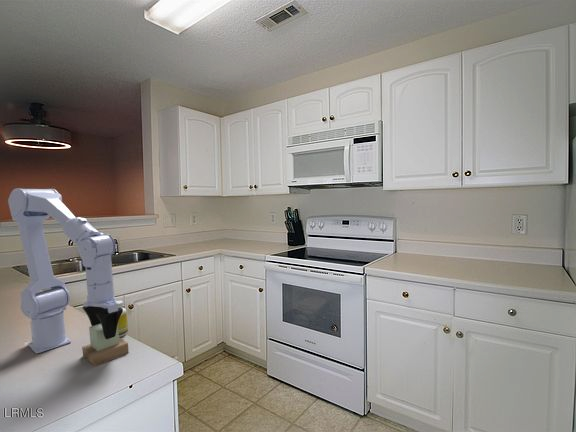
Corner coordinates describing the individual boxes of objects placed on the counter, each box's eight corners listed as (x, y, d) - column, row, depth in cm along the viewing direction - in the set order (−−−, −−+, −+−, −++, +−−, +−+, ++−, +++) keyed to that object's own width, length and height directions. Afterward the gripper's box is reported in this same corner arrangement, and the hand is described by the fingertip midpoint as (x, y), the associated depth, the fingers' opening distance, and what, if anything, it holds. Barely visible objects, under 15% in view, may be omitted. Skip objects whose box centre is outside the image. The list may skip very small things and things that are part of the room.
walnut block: (83, 358, 79) (82, 346, 79) (116, 345, 85) (115, 335, 85) (94, 368, 74) (93, 356, 74) (128, 354, 80) (127, 343, 80)
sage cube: (90, 345, 79) (89, 327, 79) (111, 338, 83) (110, 320, 83) (98, 351, 76) (96, 331, 75) (119, 343, 80) (117, 324, 79)
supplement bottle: (131, 330, 94) (129, 299, 93) (122, 338, 88) (120, 305, 88) (113, 331, 94) (111, 300, 93) (103, 339, 88) (100, 306, 88)
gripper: (72, 282, 80) (76, 332, 80) (93, 290, 71) (98, 347, 71) (102, 276, 85) (105, 323, 86) (125, 283, 76) (129, 336, 77)
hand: (104, 334), depth 79 cm, fingers open, 7 cm apart
